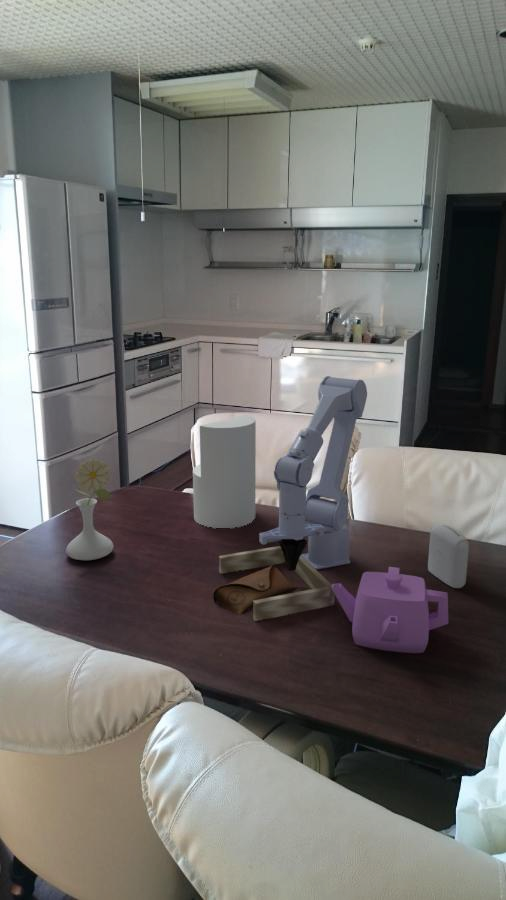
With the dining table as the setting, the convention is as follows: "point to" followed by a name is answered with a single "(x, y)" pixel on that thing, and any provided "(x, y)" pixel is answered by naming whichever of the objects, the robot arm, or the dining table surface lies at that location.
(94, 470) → the flower in vase
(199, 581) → the dining table surface
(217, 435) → the cylinder
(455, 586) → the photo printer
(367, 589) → the teakettle
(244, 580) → the sunglasses case
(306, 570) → the open wooden frame
